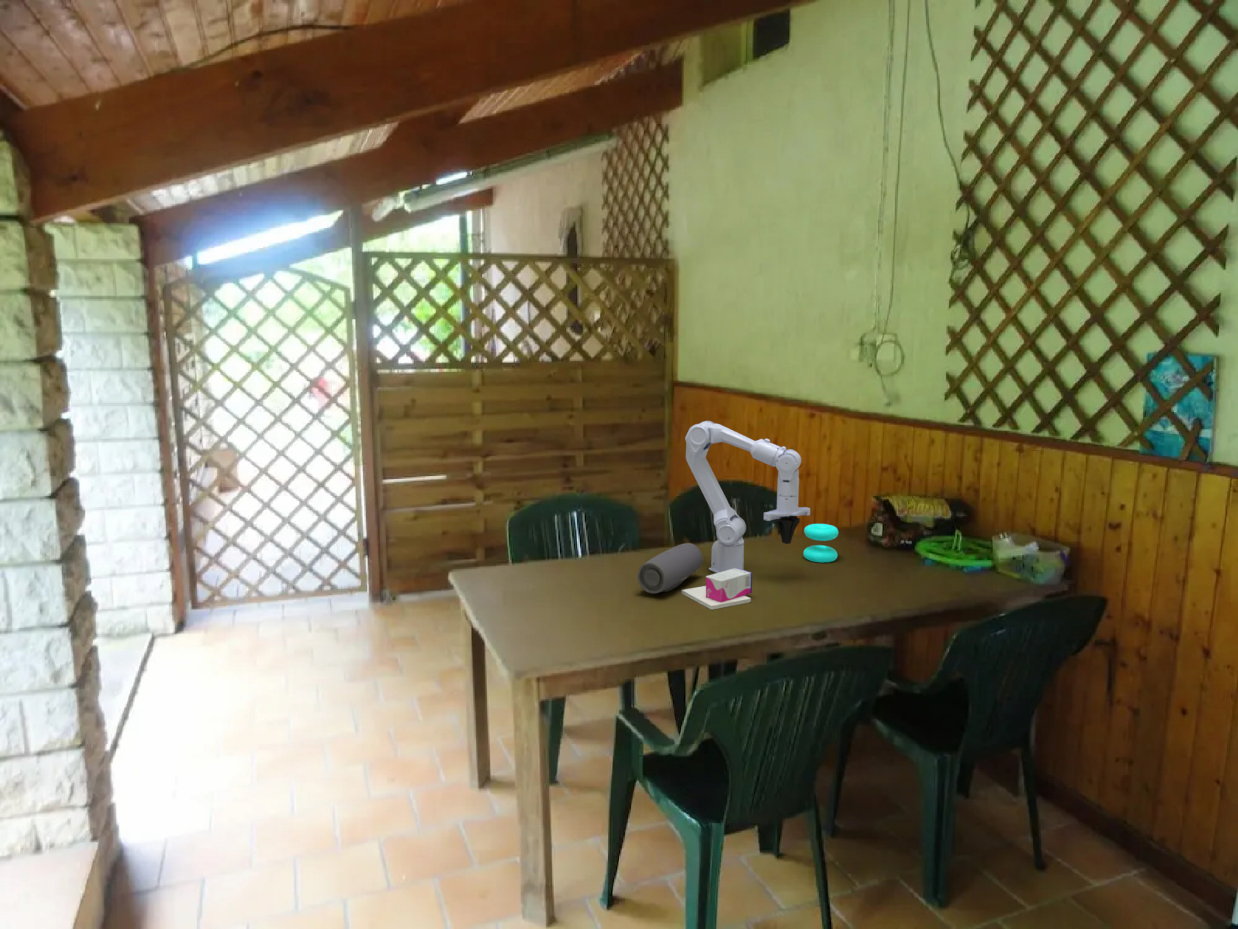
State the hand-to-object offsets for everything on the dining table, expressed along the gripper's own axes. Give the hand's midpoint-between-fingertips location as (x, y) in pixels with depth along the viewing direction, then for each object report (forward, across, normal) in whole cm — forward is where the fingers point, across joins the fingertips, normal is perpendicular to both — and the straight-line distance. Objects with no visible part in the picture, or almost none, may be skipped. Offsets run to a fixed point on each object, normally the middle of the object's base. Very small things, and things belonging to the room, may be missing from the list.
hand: (786, 543), depth 227 cm
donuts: (+11, +22, +11) cm, 27 cm away
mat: (+10, -26, -4) cm, 28 cm away
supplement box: (+7, -18, -5) cm, 19 cm away
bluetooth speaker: (+11, -31, +10) cm, 34 cm away
